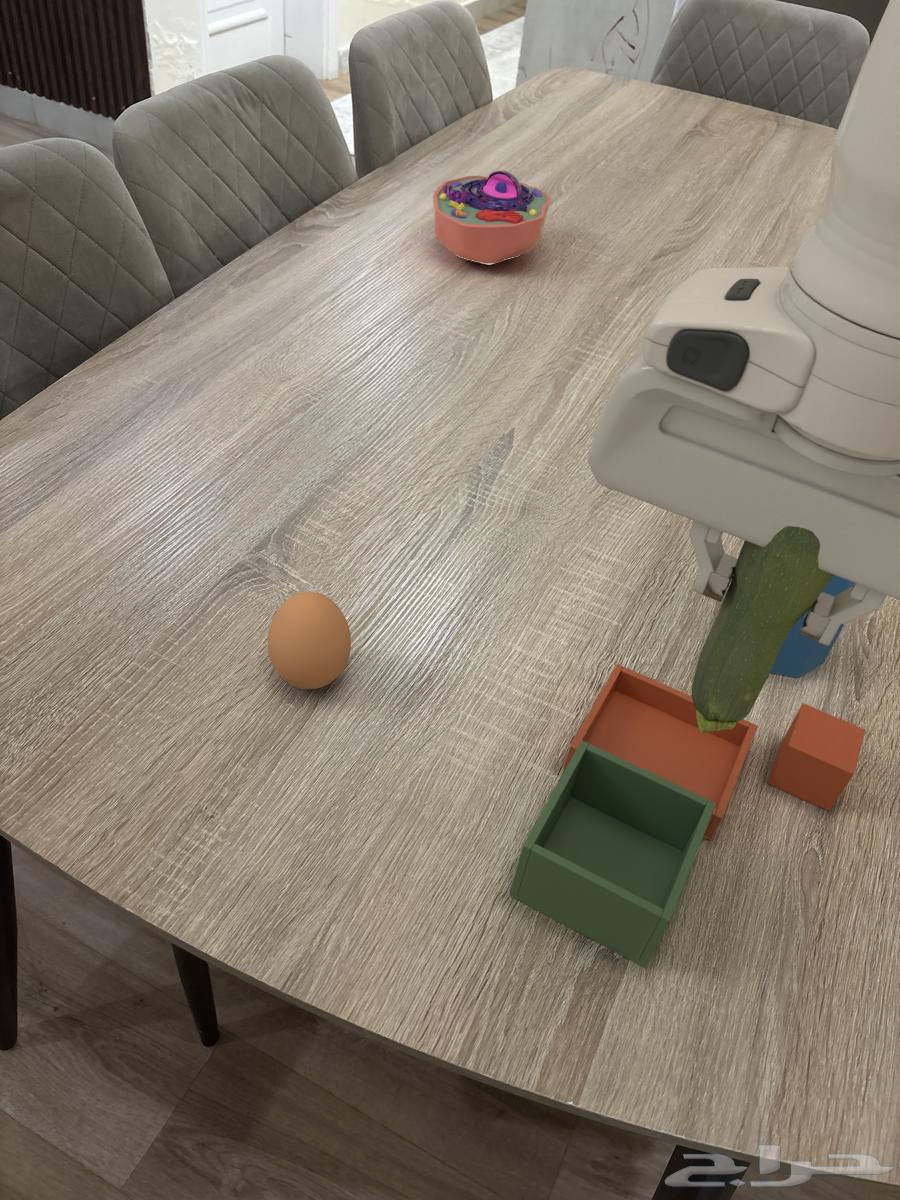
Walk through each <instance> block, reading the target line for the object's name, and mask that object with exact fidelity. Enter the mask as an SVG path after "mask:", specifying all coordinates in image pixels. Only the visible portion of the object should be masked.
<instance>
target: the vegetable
mask: <svg viewBox="0 0 900 1200" xmlns="http://www.w3.org/2000/svg"><path fill="white" fill-rule="evenodd" d="M819 550H820V542H819V539H818V538H817V537H816V535H815V534H814V533H813V532H812V531H810V530H807V529H804V528H801V527H793V526H787V527H785V528H783V529H782V530H781V531H779V532H778V533H777V534H776V535H775V536H774V537H773V539H772V540H771V541H770V542H769V543H768V544H767V545H766V546H765V547H761V546H758V545H756V544H753V543H750V542H748V541H745V540H743V544H742V546H741V549H740V551H739V555H738V557H737V559H738V560H737V563H736V566H735V570H734V574H733V577H732V579H731V582H730V584H729V586H728V588H727V590H726V593H725V594H724V597H723V599H722V601H721V602H722V603H721V606H720V608H719V611H718V613H717V615H716V618H715V620H714V622H713V625H712V627H711V629H710V631H709V632H708V635H707V638H706V640H705V642H704V644H703V646H702V649H701V651H700V653H699V656H698V660H697V664H696V667H695V672H694V675H693V678H692V684H691V696H692V700H693V703H694V706H695V708H696V711H697V712H696V718H697V721H698V726H699V730H700V731H701V733H704V732H712V731H719V730H723V729H733V728H734V727H735V726H736V723H737V722H738V721H740V720H742V719H744V720H745V719H746V717H747V716H748V715H749V714H750V712H751V711H752V709H753V708H754V706H755V703H756V701H757V699H758V697H759V695H760V693H761V691H762V689H763V687H764V685H765V683H766V681H767V679H768V677H769V675H770V674H771V673H770V671H771V669H772V667H773V665H774V663H775V660H776V658H777V656H778V653H779V651H780V649H781V646H782V645H783V643H784V641H785V640H786V638H787V636H788V634H789V632H790V631H791V629H792V628H793V626H794V625H795V624H796V622H797V621H798V620H799V619H800V618H801V617H802V616H803V615H804V614H805V613H806V612H807V611H808V610H809V609H810V607H811V606H812V605H813V604H814V602H815V601H816V600H817V598H818V597H819V595H820V594H821V592H822V591H823V590H824V588H825V587H826V585H827V584H828V583H829V581H830V580H831V578H832V576H833V575H834V574H831V573H828V572H826V571H823V570H821V569H819V567H818V555H819Z"/></svg>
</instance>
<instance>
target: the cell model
mask: <svg viewBox="0 0 900 1200" xmlns="http://www.w3.org/2000/svg"><path fill="white" fill-rule="evenodd" d="M432 201H433V202H432V209H433V218H434V223H433V224H434V226H433V227H434V234H435V236H436V238H437V240H438V241H439V242H440V243H441V244H442V245H443V246H444V247H445V248H446V249H447V250H448V251H449V252H451V253H452V254H453V253H454V254H456V255H458V256H460V257H463V258H466V259H470V260H474V261H479V262H483V263H497V262H500V261H502V260H504V259H508V258H512V257H516V256H519V255H522V254H524V253H526V254H527V253H529V252H530V251H531V250H532V249H533V248H535V247H536V246H537V245H538V244H539V243H540V240H541V238H542V233H543V230H544V227H545V222H546V218H547V215H548V211H549V209H550V208H549V207H550V205H551V203H552V202H551V197H550V196H549V195H548V194H547V193H546V192H545V191H543V190H542V189H541V188H538V187H536V186H534V185H531V184H527V183H523V182H520V181H519V179H518V178H517V177H516V176H515V175H514V174H512V173H511V172H509V171H507V170H495V171H493V172H491V173H490V174H489V175H488V176H483V175H466V176H464V177H458V178H456V179H455V178H454V179H451V180H445V181H444V182H442V183H441V184H440V185H439V186H438V187H437V188H436V189H435V191H434V192H433V195H432ZM454 254H453V255H454ZM456 255H455V256H456ZM524 255H525V254H524ZM522 256H523V255H522ZM466 261H468V260H466ZM468 262H469V261H468ZM470 262H472V261H470ZM472 263H473V262H472ZM474 263H476V262H474ZM500 263H501V262H500ZM476 264H477V263H476Z"/></svg>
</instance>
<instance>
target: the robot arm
mask: <svg viewBox="0 0 900 1200" xmlns="http://www.w3.org/2000/svg"><path fill="white" fill-rule="evenodd" d="M830 163H831V164H830V176H829V183H828V187H827V190H826V191H827V192H826V194H825V197H824V200H823V203H822V205H821V208H820V210H819V212H818V213H817V215H816V218H815V219H814V221H813V223H812V224H811V225H810V227H809V228H808V229H807V231H806V232H805V233H804V234H803V237H802V238H801V239H800V241H799V243H798V244H797V245H796V247H795V250H794V252H793V254H792V257H791V259H790V262H789V265H788V266H787V265H786V266H785V265H784V266H754V267H753V266H751V267H750V266H749V267H743V266H742V267H708V268H702V269H699V270H697V271H695V272H694V273H693V274H691V275H690V276H688V277H687V278H686V279H685V280H683V281H682V282H680V284H679V285H677V286H676V287H675V288H674V289H673V290H672V291H671V293H669V295H668V296H667V297H666V298H665V299H664V300H663V301H662V303H661V304H660V305H659V307H658V308H657V310H656V312H655V313H654V314H653V316H652V318H651V320H650V322H649V324H648V327H647V329H646V330H645V334H644V337H643V342H642V348H641V350H640V351H639V353H638V354H637V355H636V356H635V358H634V359H633V360H632V361H631V362H630V364H629V365H628V366H627V367H626V369H625V370H624V371H623V372H622V374H621V376H620V377H619V378H618V379H617V381H616V382H615V383H614V385H613V387H612V389H611V392H610V393H609V396H608V397H607V399H606V402H605V404H604V407H603V409H602V411H601V414H600V417H599V419H598V421H597V424H596V427H595V431H594V433H593V435H592V440H591V443H590V445H589V450H588V455H587V464H588V466H589V468H590V471H591V472H592V474H593V476H594V478H595V480H596V482H597V483H598V484H599V485H601V486H603V487H605V488H608V489H610V490H613V491H615V492H618V493H621V494H624V495H626V496H628V497H631V498H634V499H637V500H638V501H642V502H643V503H644V502H645V503H647V504H649V505H652V506H655V507H657V508H660V509H663V510H665V511H668V512H671V513H673V514H675V515H678V516H681V517H682V518H687V519H688V520H691V521H693V523H692V525H691V528H690V529H689V530H690V531H689V533H688V536H689V539H690V542H691V545H692V548H693V551H694V555H695V558H696V562H697V564H698V567H699V568H700V571H699V573H698V576H697V579H696V582H695V584H694V587H693V590H692V591H693V592H695V593H697V594H699V595H702V596H704V597H707V598H709V599H712V600H715V601H717V602H719V603H721V602H723V600H724V597H725V595H726V593H727V590H728V588H729V585H730V582H731V580H732V577H733V574H734V570H735V566H736V563H737V560H738V557H737V558H736V557H734V556H732V555H729V554H727V553H726V552H725V548H724V544H723V539H722V535H723V533H725V534H727V535H730V536H733V537H735V538H738V539H740V540H743V541H748V542H750V543H753V544H756V545H758V546H761V547H765V546H766V545H767V544H768V543H769V542H770V541H771V540H772V539H773V537H774V536H775V535H776V534H777V533H778V532H779V531H781V530H782V529H783V528H785V527H787V526H793V527H801V528H804V529H807V530H810V531H812V532H813V533H814V534H815V535H816V537H817V538H818V539H819V542H820V550H819V555H818V567H819V569H821V570H823V571H826V572H828V573H831V574H834V575H836V576H839V577H841V578H844V579H847V580H849V581H852V582H854V584H853V586H852V587H850V588H848V589H847V590H845V591H843V592H841V593H839V594H838V595H836V596H832V595H829V594H826V593H824V592H821V594H820V595H819V597H818V598H817V600H816V601H815V602H814V604H813V605H812V606H811V607H810V609H809V610H808V612H807V614H806V616H805V619H804V621H803V625H802V627H801V629H800V632H799V634H801V635H803V636H806V637H808V638H810V639H812V640H815V641H817V642H819V643H822V644H824V645H827V646H829V645H830V643H831V641H832V639H833V638H834V636H835V634H836V632H837V630H838V629H839V627H840V625H841V624H845V625H846V624H848V623H851V622H853V621H856V620H858V619H860V618H862V617H864V616H867V615H869V614H872V613H874V612H875V611H878V610H880V608H881V607H882V604H883V603H884V601H885V600H886V598H887V596H888V597H891V598H892V599H896V600H899V601H900V0H889V1H888V4H887V6H886V8H885V11H884V12H883V15H882V18H881V19H880V21H879V24H878V26H877V29H876V31H875V33H874V36H873V38H872V41H871V43H870V45H869V48H868V51H867V52H866V56H865V58H864V60H863V62H862V65H861V68H860V70H859V73H858V75H857V78H856V80H855V83H854V86H853V88H852V91H851V94H850V96H849V99H848V102H847V104H846V107H845V110H844V112H843V115H842V117H841V121H840V123H839V125H838V129H837V131H836V133H835V138H834V141H833V145H832V151H831V161H830Z"/></svg>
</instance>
